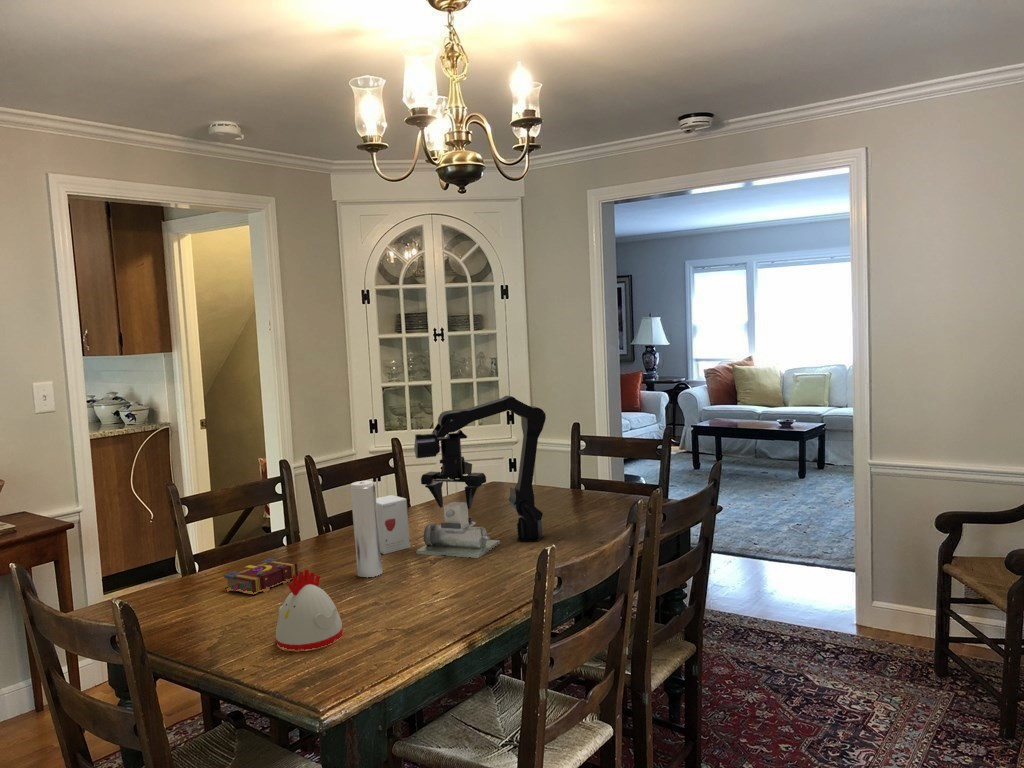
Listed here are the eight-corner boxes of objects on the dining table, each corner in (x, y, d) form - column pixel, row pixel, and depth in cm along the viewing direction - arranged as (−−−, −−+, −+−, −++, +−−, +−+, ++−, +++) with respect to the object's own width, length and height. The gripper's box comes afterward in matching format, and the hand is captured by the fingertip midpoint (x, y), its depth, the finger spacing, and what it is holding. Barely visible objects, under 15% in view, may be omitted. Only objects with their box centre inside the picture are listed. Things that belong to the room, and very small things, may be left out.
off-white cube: (468, 522, 227) (467, 502, 227) (457, 529, 221) (455, 508, 221) (453, 522, 230) (452, 502, 229) (441, 528, 223) (440, 507, 223)
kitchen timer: (262, 645, 166) (255, 576, 164) (312, 622, 177) (306, 557, 176) (307, 657, 158) (300, 585, 157) (356, 632, 169) (350, 564, 168)
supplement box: (384, 555, 226) (380, 504, 224) (369, 549, 232) (364, 500, 231) (411, 547, 231) (407, 498, 230) (395, 542, 238) (391, 494, 237)
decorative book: (299, 579, 210) (297, 560, 209) (250, 599, 196) (248, 579, 196) (270, 574, 216) (269, 556, 215) (221, 593, 202) (219, 574, 202)
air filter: (377, 578, 205) (369, 484, 203) (353, 578, 206) (345, 485, 204) (385, 570, 211) (378, 479, 209) (363, 570, 212) (355, 479, 210)
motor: (500, 543, 229) (498, 515, 228) (479, 558, 216) (477, 528, 216) (440, 540, 237) (438, 512, 237) (416, 553, 225) (414, 524, 224)
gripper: (492, 450, 228) (496, 502, 229) (437, 449, 236) (440, 500, 237) (475, 457, 218) (479, 512, 219) (418, 456, 226) (421, 509, 227)
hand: (455, 508), depth 226 cm, fingers open, 9 cm apart
